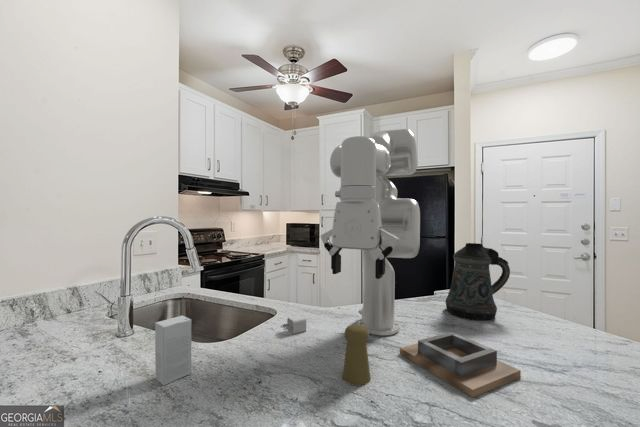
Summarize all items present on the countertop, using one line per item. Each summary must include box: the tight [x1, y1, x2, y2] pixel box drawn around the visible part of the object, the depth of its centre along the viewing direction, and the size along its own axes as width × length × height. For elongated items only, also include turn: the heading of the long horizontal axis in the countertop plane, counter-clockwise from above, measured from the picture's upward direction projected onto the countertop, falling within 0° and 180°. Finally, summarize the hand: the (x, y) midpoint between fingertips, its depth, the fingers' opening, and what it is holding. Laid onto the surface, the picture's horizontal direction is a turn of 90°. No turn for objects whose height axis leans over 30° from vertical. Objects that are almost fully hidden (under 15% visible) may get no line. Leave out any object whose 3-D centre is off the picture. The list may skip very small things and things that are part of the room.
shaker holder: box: [399, 331, 522, 398], centre depth 70 cm, size 20×16×4 cm
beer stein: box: [445, 242, 511, 322], centre depth 107 cm, size 16×19×25 cm
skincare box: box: [154, 315, 192, 386], centre depth 64 cm, size 6×4×12 cm
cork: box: [341, 323, 371, 386], centre depth 64 cm, size 6×6×11 cm
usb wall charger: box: [280, 315, 307, 335], centre depth 88 cm, size 4×7×4 cm, turn 122°
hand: (357, 275), depth 64 cm, fingers open, 9 cm apart
